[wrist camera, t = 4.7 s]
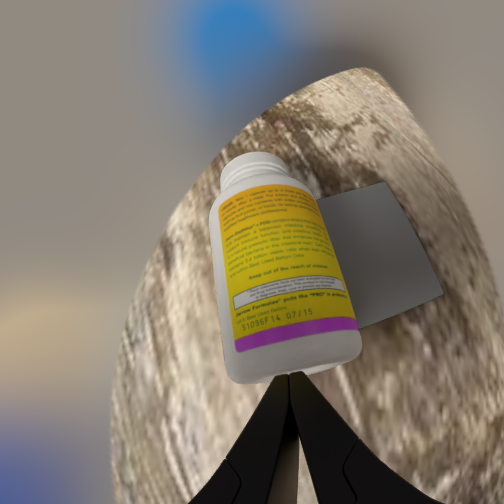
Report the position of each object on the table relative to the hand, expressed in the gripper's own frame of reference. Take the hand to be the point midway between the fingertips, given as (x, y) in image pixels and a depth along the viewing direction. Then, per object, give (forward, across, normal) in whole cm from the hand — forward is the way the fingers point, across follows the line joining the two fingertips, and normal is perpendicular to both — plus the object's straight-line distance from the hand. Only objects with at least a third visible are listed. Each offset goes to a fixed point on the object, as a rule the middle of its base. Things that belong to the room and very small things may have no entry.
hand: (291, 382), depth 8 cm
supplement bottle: (+4, 0, +3) cm, 5 cm away
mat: (+12, -4, +1) cm, 12 cm away
